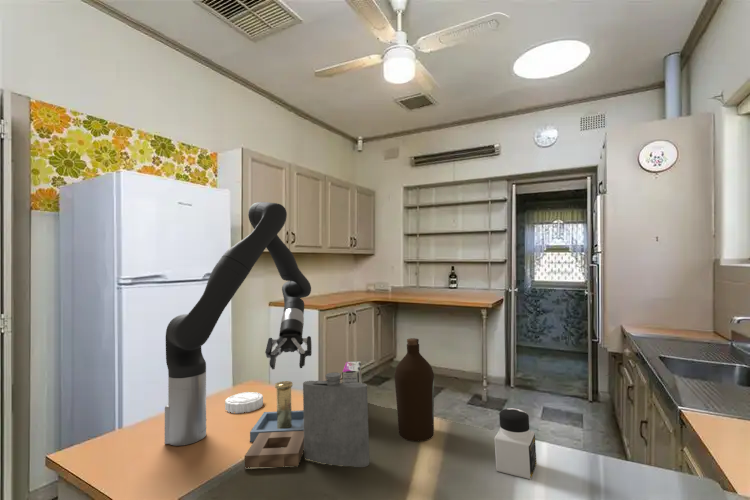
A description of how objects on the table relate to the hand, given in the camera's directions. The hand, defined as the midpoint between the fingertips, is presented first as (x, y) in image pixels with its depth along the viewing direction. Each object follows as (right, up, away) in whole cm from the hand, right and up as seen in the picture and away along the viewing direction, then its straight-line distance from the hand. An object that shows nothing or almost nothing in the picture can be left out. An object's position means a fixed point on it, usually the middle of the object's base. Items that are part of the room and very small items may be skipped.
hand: (286, 367), depth 113 cm
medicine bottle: (+58, -11, -33) cm, 68 cm away
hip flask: (+18, -13, -28) cm, 36 cm away
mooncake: (-17, -17, +10) cm, 25 cm away
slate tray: (+1, -14, -10) cm, 17 cm away
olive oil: (+38, -13, -15) cm, 43 cm away
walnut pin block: (+4, -13, -24) cm, 28 cm away
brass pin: (+2, -14, -9) cm, 17 cm away
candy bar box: (+21, -14, -7) cm, 26 cm away
